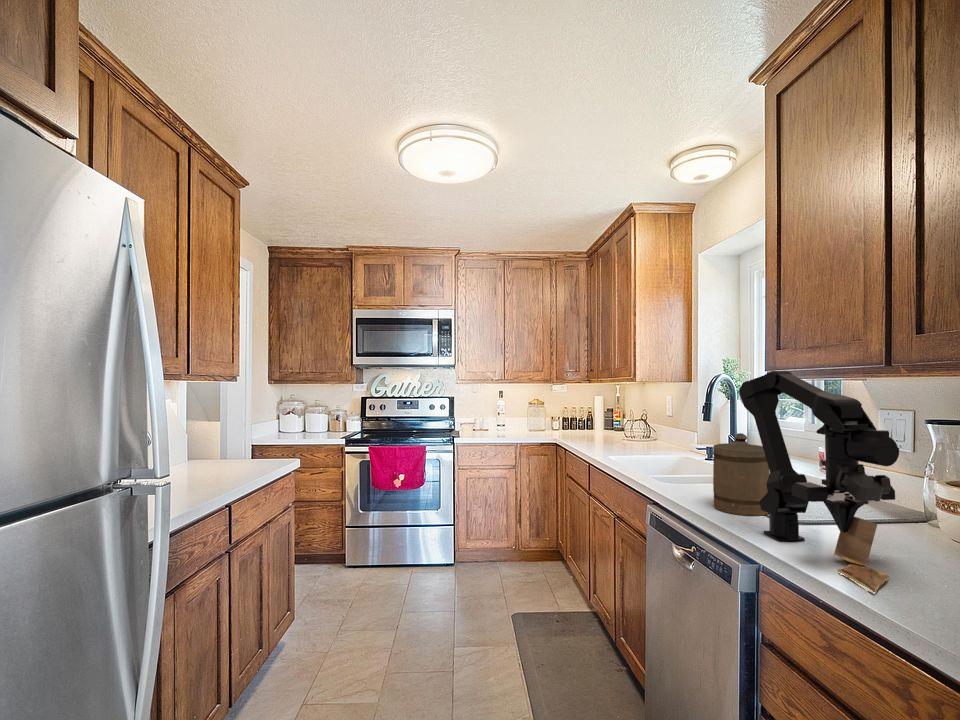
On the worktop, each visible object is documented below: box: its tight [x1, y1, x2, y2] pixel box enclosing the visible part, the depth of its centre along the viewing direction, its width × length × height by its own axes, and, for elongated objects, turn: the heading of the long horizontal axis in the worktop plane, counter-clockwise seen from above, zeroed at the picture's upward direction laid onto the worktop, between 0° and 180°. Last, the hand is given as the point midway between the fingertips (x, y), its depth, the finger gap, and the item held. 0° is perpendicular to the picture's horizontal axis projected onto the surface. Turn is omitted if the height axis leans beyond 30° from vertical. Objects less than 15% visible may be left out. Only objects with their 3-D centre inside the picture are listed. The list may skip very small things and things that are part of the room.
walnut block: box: [833, 516, 878, 566], centre depth 109 cm, size 4×4×9 cm
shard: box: [837, 563, 890, 593], centre depth 100 cm, size 11×8×2 cm
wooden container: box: [712, 432, 770, 517], centre depth 151 cm, size 15×15×22 cm
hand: (843, 532), depth 109 cm, fingers closed
